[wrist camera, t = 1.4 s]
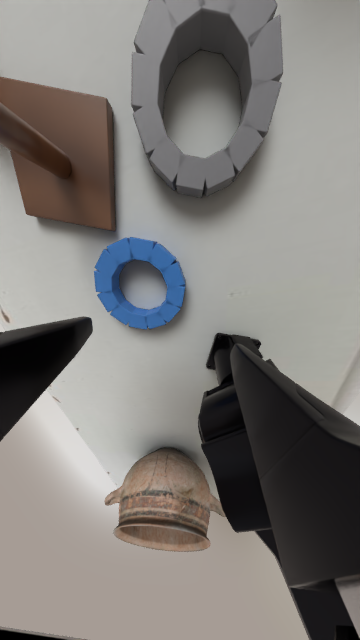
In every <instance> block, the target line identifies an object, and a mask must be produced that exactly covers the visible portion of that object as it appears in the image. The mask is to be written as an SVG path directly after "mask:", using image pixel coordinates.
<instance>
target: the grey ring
mask: <svg viewBox="0 0 360 640" xmlns="http://www.w3.org/2000/svg"><path fill="white" fill-rule="evenodd" d="M276 8H277V3H276V1H275V0H149V2H148V5H147V7H146V10H145V13H144V16H143V18H142V21H141V24H140V26H139V29H138V32H137V34H136V37H135V40H134V45H135V49H136V52H137V53H136V52H132V95H131V105H132V108H133V110H134V113H133V117H134V120H135V123H136V126H137V129H138V131H139V134H140V137H141V140H142V143H143V146H144V149H145V152H146V155H147V157H148V159H149V161H150V163H151V166H153V168H154V171H155V172H156V173H157V174H158V175H159V176H160V177H161V178H162V179H163V180H164V181H165V182H166V183H167V184H168V185H169V186H170V187H171V188H172V189H173V190H175V189H176V187H177V192H178V193H180V194H185V195H190V196H195V197H202V193H203V190H204V194H205V196H208V195H210V194H213V193H215V192H217V191H219V190H221V189H223V188H225V187H227V186H229V185H230V183H231V182H232V181H233V182H234V181H235V179H236V178H237V177H238V175H239V174H240V173H241V171H242V170H243V169H244V167H245V166H246V165H247V163H248V162H249V161H250V159H251V158H252V157H253V155H254V154H255V152H256V151H257V149H258V148H259V146H260V145H261V143H262V142H263V138H264V137H265V135H266V134H267V132H268V128H269V125H270V122H271V118H272V115H273V111H274V108H275V105H276V101H277V98H278V94H279V91H280V88H281V84H282V83H281V82H279V80H280V78H281V76H282V74H283V59H282V39H281V19H280V15H278V16H277V17H275V18H274V19H273V17H274V14H275V11H276ZM199 49H202V50H207V51H212V52H216V53H221V54H223V55H224V56H225V58H226V59H227V61H228V62H229V64H230V65H231V67H232V68H233V69H234V71H235V72H236V74H237V75H238V77H239V83H240V91H241V99H242V107H243V110H242V114H241V118H240V123H239V127H238V130H237V131H236V132H235V134H234V135H233V137H232V138H231V140H230V141H229V143H228V144H227V146H226V147H225V148H224V149H222V150H220V151H218V152H216V153H214V154H212V155H210V156H209V157H207V158H200V157H195V156H190V155H185V154H183V153H182V152H181V151H180V150H179V148H178V147H177V146H176V145H175V144H174V143H173V142H172V141H171V139H170V138H169V137H168V136H167V134H166V130H165V127H164V123H163V109H164V96H165V91H166V89H167V87H168V85H169V83H170V81H171V78H172V76H173V74H174V72H175V70H176V68H177V66H178V64H179V63H181V62H182V61H184V60H185V59H186V58H188V57H189V56H191V55H192V54H194V53H195V52H196V51H198V50H199Z"/></svg>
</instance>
